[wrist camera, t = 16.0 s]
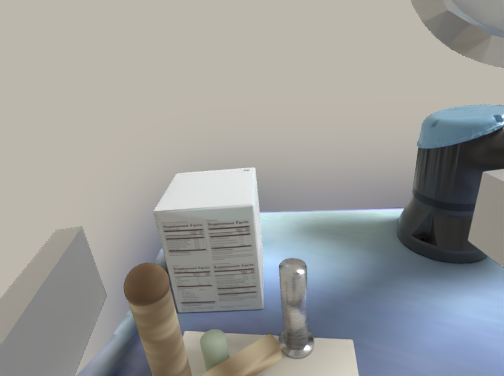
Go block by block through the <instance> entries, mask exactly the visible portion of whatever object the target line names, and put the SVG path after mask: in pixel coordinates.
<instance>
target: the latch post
mask: <svg viewBox="0 0 504 376" xmlns="http://www.w3.org/2000/svg"><path fill="white" fill-rule="evenodd" d="M200 345H201V350H202V354H203V359H204V364H205V368H206V370H207V371H209V370H210V369H212V368H214V367H215V366H217V365H218V364H220V363H222V362H223V361H225V360H227V359H228V358H229V353H228V348H227V342H226V336H225V334H224V332H223V331H221V330H219V329H211V330H209V331H207V332H205V333H204V334H203V335H202V337H201V339H200Z"/></svg>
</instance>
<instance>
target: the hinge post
mask: <svg viewBox="0 0 504 376" xmlns="http://www.w3.org/2000/svg"><path fill="white" fill-rule="evenodd" d="M279 274H280V289H281V304H282V319H283V331H282V332H281V333H280V335H279V338H278V342H279V343H280V344H281V352H282V353H283V354H284V355H286V356H287V357H289V358H292V359H302V358H305V357H307V356H308V355H310V354H311V352H312V351H313V348H314V338H313V336H312V334H311V333H310V332H309V331H308V313H307V271H306V264H305V263H304V262H303V261H302V260H300V259H296V258H290V259H286V260H284V261H282V262H281V263H280V265H279Z"/></svg>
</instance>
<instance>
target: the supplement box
mask: <svg viewBox="0 0 504 376" xmlns="http://www.w3.org/2000/svg"><path fill="white" fill-rule="evenodd" d="M154 215H155V220H156V224H157V228H158V232H159V236H160V240H161V244H162V248H163V252H164V256H165V260H166V264H167V268H168V272H169V276H170V280H171V285H172V289H173V293H174V297H175V301H176V305H177V310H178V312H179V313H184V312H209V311H233V310H256V309H263V305H264V288H263V246H262V235H261V224H260V213H259V202H258V191H257V181H256V171H255V168H240V169H227V170H214V171H201V172H188V173H177V174H176V176H175V177H174V179H173V180H172V182H171V184H170V185H169V187H168V188H167V190H166V192H165V193H164V195H163V196H162V198H161V200H160V201H159V203H158V205H157V206H156V208H155V209H154Z"/></svg>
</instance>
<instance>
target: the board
mask: <svg viewBox="0 0 504 376" xmlns="http://www.w3.org/2000/svg"><path fill="white" fill-rule="evenodd" d="M204 333H205V332H195V331H185V333H184V335H183V341H184V345H185V349H186V353H187V357H188V361H189V365H190V369H191V373H192V376H200V375H202V374H204V373H205V372H207V370H206V368H205V364H204V359H203V354H202V350H201V345H200V339H201V337H202V335H203V334H204ZM224 334H225V336H226V342H227V348H228V353H229V358H230V357H232V356H233V355H235V354H237V353H238V352H240V351H241V350H243V349H245V348H246V347H248V346H250V345H251V344H253V343H255V342H256V341H258V340H260V339H261V338H263V337H264V336H266V335H253V334H233V333H224ZM274 337H275V338H276V340H277V341H278V338H279V336H274ZM281 356H282V359H280V360H279V361H277V362H276V363H274V364H273V365H271V366H270V367H268V368H267V369H265V370H264V371H262V372H261V373H259V374H258V375H256V376H359V375H358V369H357V363H356V357H355V351H354V345H353V340H349V339H330V338H314V348H313V351H312V352H311V354H310V355H308V356H307V357H305V358H302V359H292V358H289V357H287V356H286V355H284V354H283V353H282V352H281Z"/></svg>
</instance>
